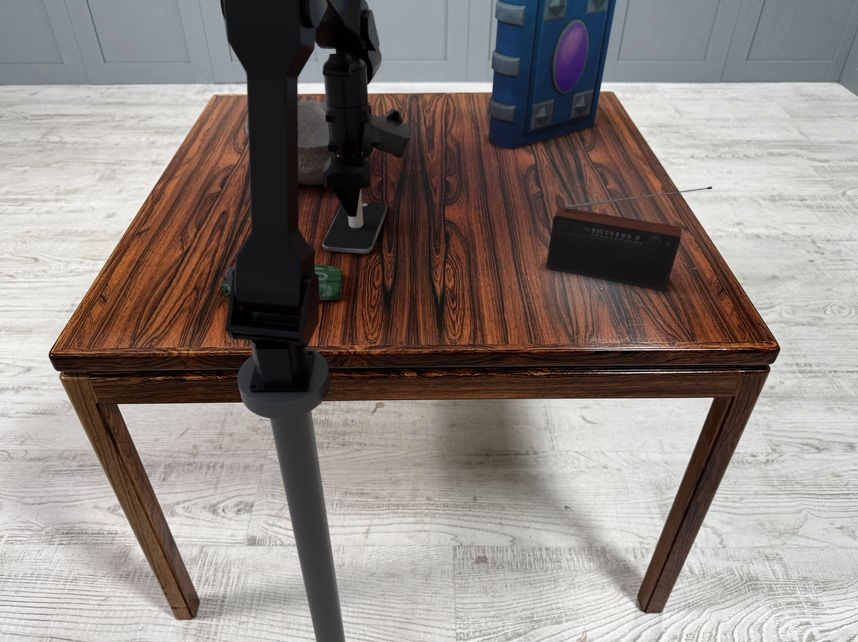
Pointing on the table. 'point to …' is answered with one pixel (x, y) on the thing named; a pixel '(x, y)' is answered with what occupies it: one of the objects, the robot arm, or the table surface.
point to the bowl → (311, 142)
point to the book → (547, 68)
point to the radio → (613, 246)
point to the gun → (327, 277)
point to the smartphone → (355, 240)
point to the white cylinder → (358, 220)
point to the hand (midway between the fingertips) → (354, 205)
